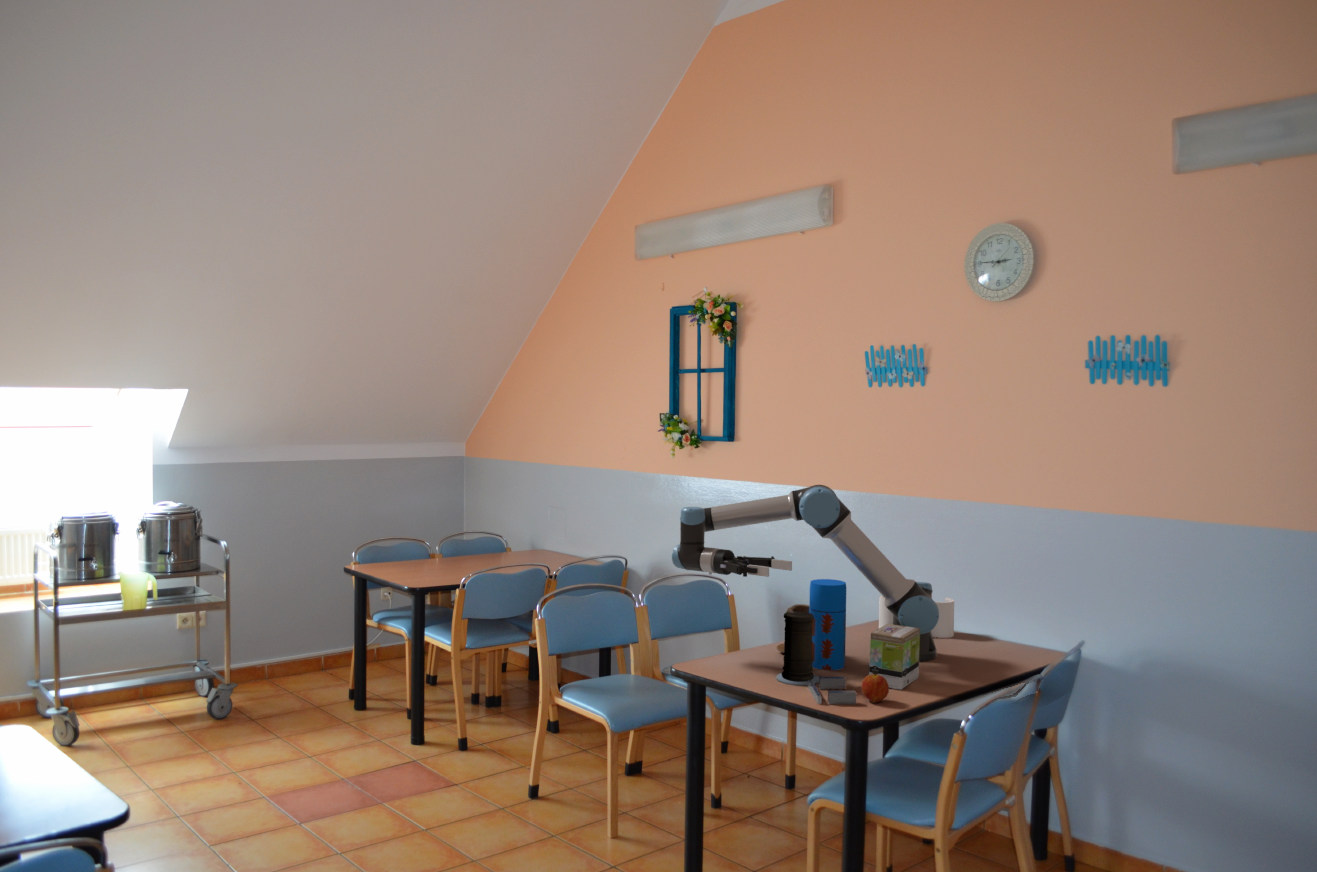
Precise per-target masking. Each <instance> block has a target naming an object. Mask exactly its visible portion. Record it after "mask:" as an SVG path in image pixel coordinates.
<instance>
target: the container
mask: <svg viewBox="0 0 1317 872" xmlns="http://www.w3.org/2000/svg"><path fill="white" fill-rule="evenodd" d="M783 618H784V620H783V621H784V627H783V629H784V642H783V643H784V653H783V666H782V672H781V673H782V677H783V678H784V679H786V680H790V681H808V680H812V679H813V677H814V672H813V671H814V669H815V668H813V667H812V660H813V658H812V631H813V629H812V623H813V621H812V620H813V619H814V616H813V614H811V613H808V612H800V611H793V612H787V611H786V612H785V613H784V614H783Z"/></svg>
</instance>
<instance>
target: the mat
mask: <svg viewBox="0 0 1317 872" xmlns="http://www.w3.org/2000/svg"><path fill="white" fill-rule="evenodd" d="M813 674H814V673H813ZM776 680H777V682H779V683H783V684H785V685H790V686H803V687H805V686H808V681H790V680H786V679H784V678H783V677H782V672H780V673H778V674H777V675H776ZM812 681H813V683H814V685H816V684H819V676H818V675H816V674H814V677H813V679H812Z"/></svg>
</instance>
